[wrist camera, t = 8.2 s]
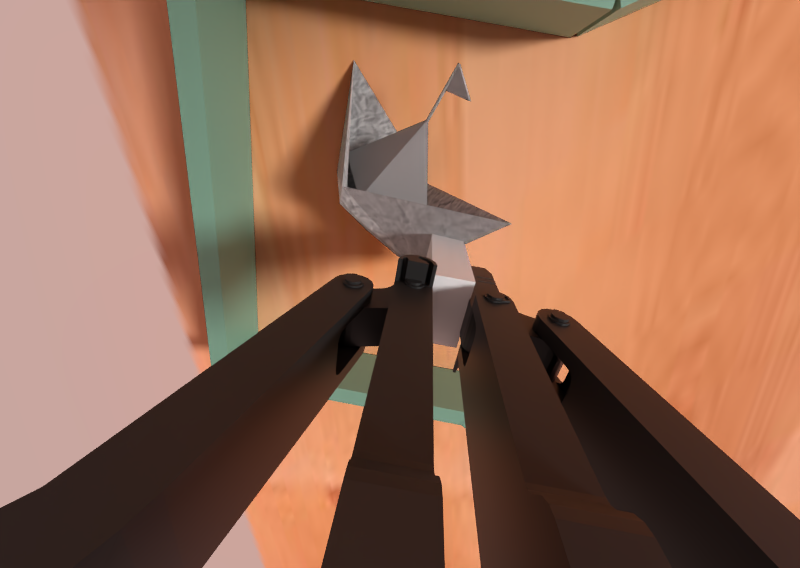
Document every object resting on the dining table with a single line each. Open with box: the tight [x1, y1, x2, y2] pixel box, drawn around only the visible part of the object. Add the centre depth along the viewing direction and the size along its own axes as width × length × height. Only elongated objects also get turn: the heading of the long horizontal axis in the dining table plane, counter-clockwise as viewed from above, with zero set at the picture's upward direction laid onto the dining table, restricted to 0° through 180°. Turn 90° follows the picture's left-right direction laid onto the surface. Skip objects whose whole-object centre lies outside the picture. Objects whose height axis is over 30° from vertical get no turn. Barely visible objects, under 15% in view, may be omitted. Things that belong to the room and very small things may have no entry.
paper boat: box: [337, 61, 511, 257], centre depth 16 cm, size 12×6×9 cm
